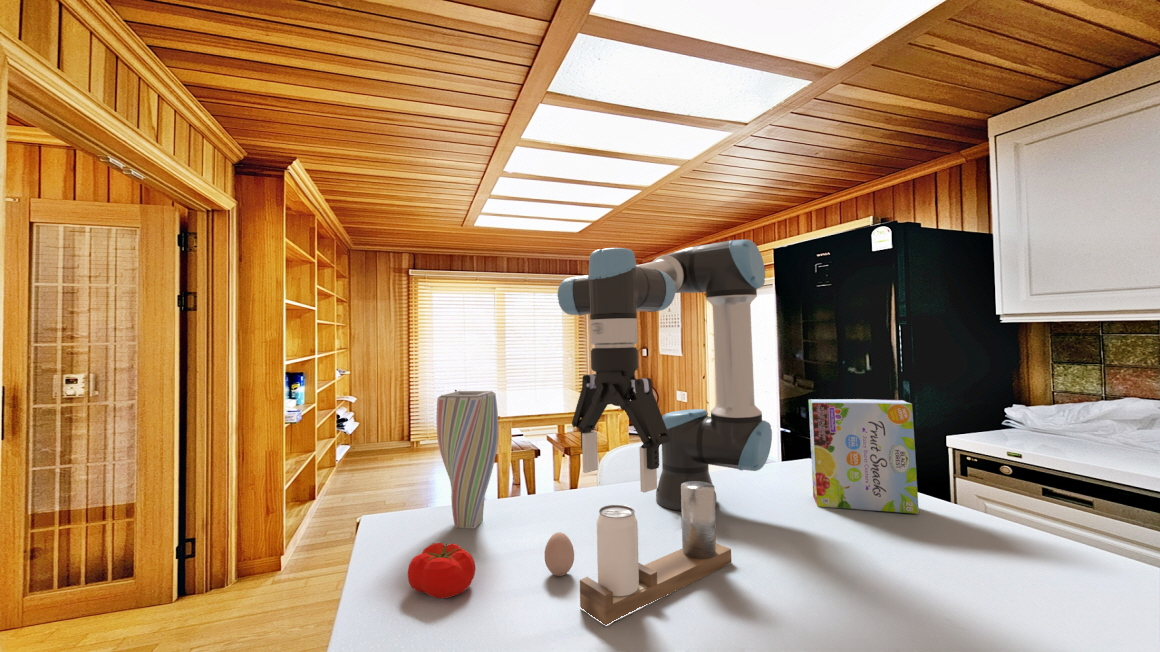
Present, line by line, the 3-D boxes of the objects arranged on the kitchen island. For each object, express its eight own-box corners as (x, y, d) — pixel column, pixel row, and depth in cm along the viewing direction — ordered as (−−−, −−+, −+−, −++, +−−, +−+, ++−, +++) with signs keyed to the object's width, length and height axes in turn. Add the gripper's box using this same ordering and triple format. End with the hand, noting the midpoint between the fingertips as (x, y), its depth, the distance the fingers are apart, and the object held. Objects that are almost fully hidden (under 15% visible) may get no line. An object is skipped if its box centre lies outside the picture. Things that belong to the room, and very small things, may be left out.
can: (637, 600, 71) (635, 519, 72) (594, 596, 73) (593, 516, 73) (640, 579, 78) (639, 504, 78) (601, 575, 79) (600, 502, 79)
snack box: (908, 503, 118) (904, 399, 118) (920, 516, 109) (915, 403, 110) (811, 496, 125) (807, 397, 125) (815, 507, 116) (812, 401, 117)
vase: (506, 514, 115) (504, 389, 116) (485, 537, 102) (484, 396, 103) (454, 511, 118) (452, 389, 119) (427, 533, 104) (426, 396, 105)
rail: (580, 609, 74) (579, 579, 74) (704, 551, 93) (704, 528, 93) (605, 627, 69) (605, 595, 69) (731, 562, 88) (730, 538, 89)
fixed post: (675, 551, 88) (674, 485, 88) (696, 542, 92) (694, 479, 92) (702, 562, 83) (700, 493, 84) (723, 552, 87) (721, 486, 87)
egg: (576, 580, 83) (575, 537, 83) (546, 583, 82) (545, 540, 82) (572, 566, 88) (571, 526, 88) (543, 569, 87) (542, 528, 88)
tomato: (442, 612, 74) (442, 569, 74) (397, 593, 80) (397, 554, 80) (486, 584, 82) (486, 546, 82) (442, 569, 88) (442, 533, 88)
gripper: (550, 346, 84) (553, 468, 83) (655, 347, 64) (660, 506, 64) (583, 345, 88) (586, 460, 88) (691, 345, 69) (696, 493, 68)
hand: (617, 480), depth 76 cm, fingers open, 13 cm apart
